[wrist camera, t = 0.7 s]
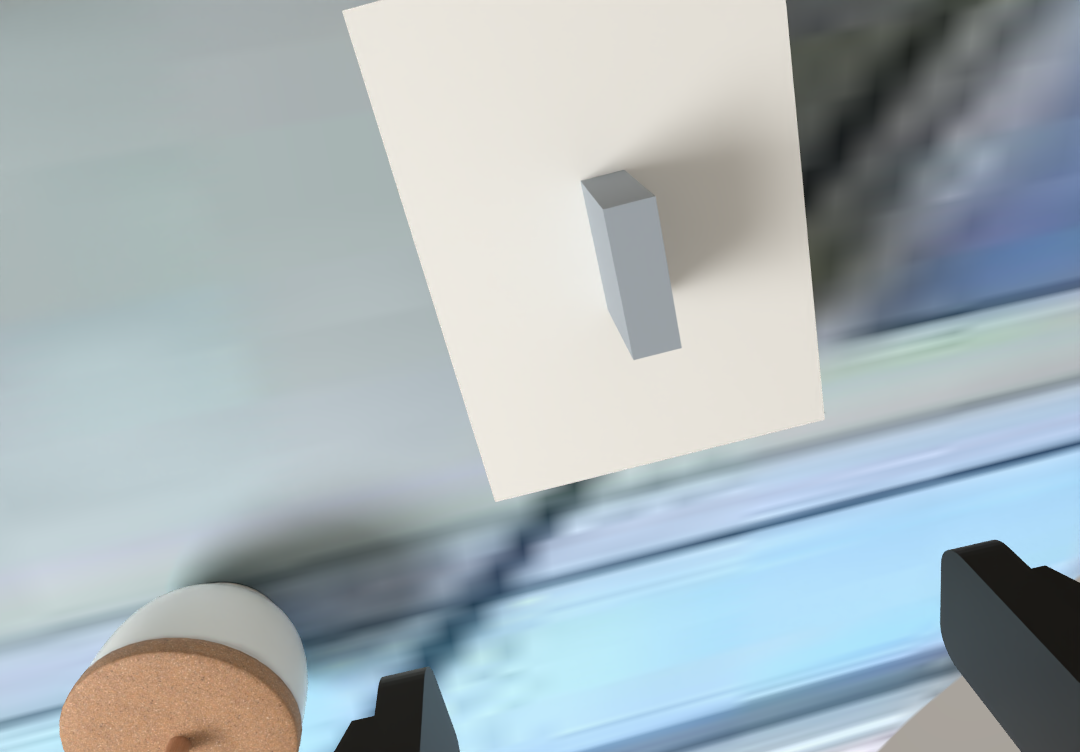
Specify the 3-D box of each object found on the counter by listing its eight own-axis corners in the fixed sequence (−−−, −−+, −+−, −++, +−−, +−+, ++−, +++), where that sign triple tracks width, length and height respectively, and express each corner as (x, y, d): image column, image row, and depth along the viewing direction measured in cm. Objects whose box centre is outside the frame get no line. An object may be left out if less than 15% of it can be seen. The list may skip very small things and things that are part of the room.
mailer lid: (352, 12, 27) (313, 4, 20) (749, -92, 27) (847, -137, 20) (493, 471, 35) (499, 577, 28) (801, 394, 34) (883, 482, 28)
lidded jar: (208, 723, 46) (148, 881, 37) (83, 600, 42) (-17, 746, 33) (362, 649, 44) (337, 795, 36) (250, 514, 40) (191, 643, 32)
